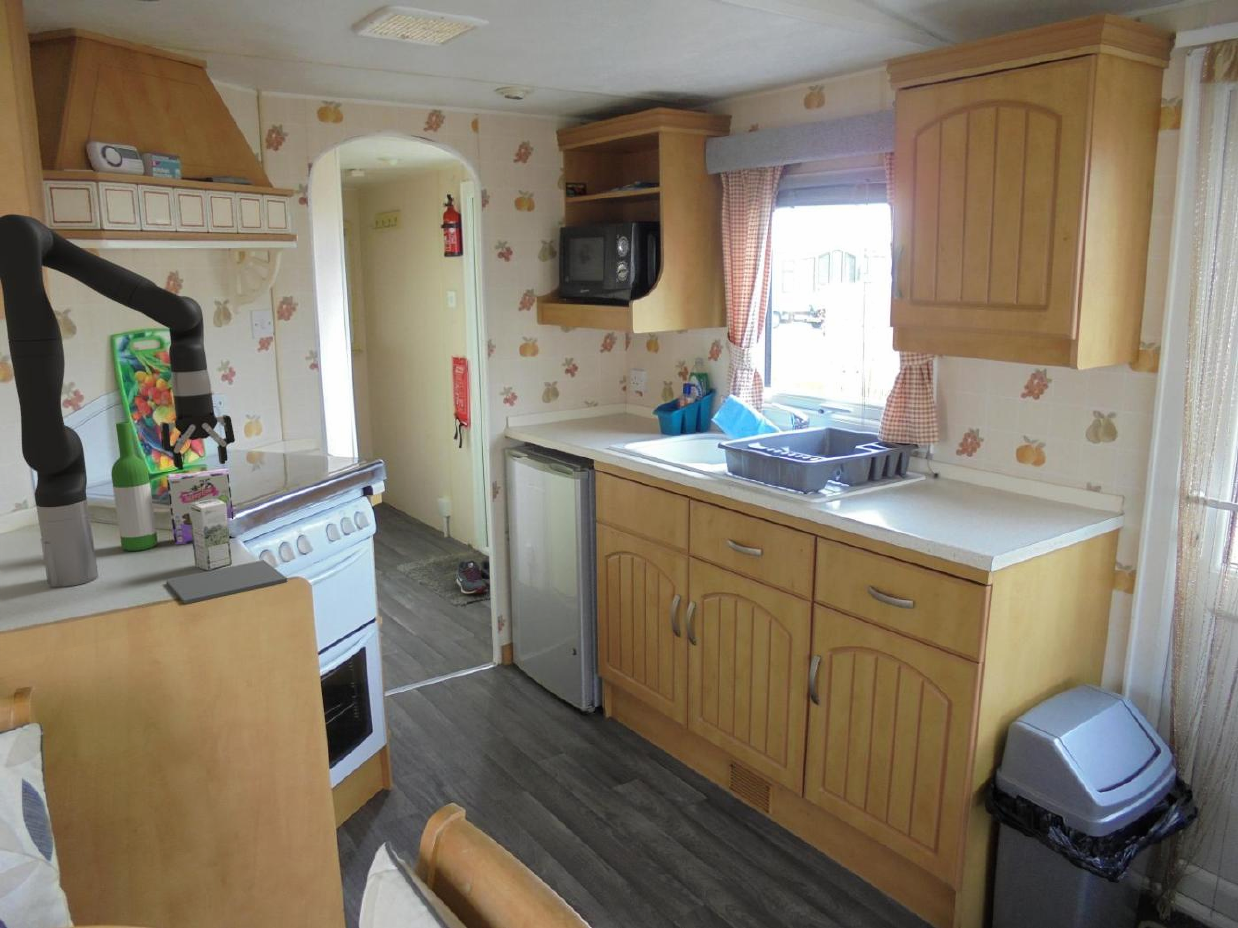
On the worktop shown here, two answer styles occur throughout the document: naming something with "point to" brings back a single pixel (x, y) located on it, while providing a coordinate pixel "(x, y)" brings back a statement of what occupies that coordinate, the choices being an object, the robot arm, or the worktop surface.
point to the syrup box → (210, 534)
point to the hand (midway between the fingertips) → (201, 466)
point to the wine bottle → (132, 495)
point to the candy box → (195, 497)
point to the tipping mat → (225, 581)
